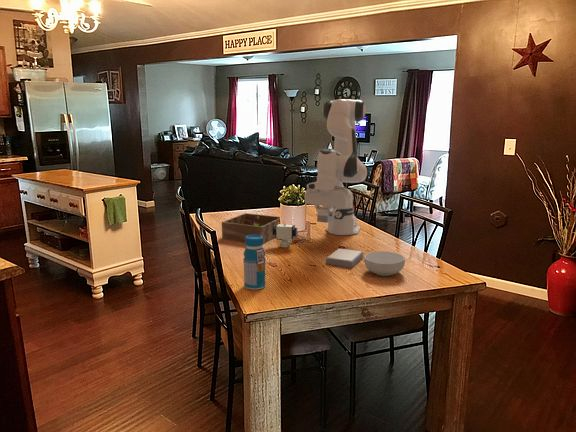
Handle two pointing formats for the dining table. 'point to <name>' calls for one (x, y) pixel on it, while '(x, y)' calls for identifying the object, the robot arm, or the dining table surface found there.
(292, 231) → the pneumatic valve
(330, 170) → the robot arm
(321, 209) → the block
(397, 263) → the cereal bowl
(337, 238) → the dining table surface
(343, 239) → the dining table surface
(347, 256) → the plinth
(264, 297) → the dining table surface
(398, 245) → the dining table surface
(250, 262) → the beverage bottle
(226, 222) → the planter crate
